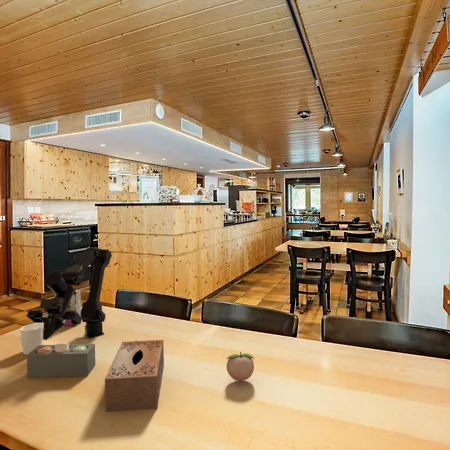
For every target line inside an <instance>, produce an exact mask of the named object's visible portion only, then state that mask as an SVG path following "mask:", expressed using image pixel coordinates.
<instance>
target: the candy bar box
mask: <svg viewBox="0 0 450 450" xmlns="http://www.w3.org/2000/svg"><path fill="white" fill-rule="evenodd" d="M75 291H76V293H77V294H76V295H73V296H72V298H71V301H70V303H69V305H70V308H67V310H66V311H76V312H77V313H78V314H79V315H80V316H81V309H82V302H81V301H82V300H81V299H82V297H81V295H82V294H81V293H82V292H81V290H75ZM53 295H54V297H53V298H55V295H56V293H54V292H53ZM71 321H72V320H66V321H65V323H64V324H65V326H73V327H76V326H78V325H77V324H72V322H71Z"/></svg>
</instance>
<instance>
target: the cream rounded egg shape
mask: <svg viewBox="0 0 450 450" xmlns="http://www.w3.org/2000/svg"><path fill="white" fill-rule="evenodd" d="M69 344H70V343H69V342H66V341H65V342H59V343H56V344H54V345H55V352H67V351H68V350H69Z"/></svg>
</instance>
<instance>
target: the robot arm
mask: <svg viewBox="0 0 450 450" xmlns="http://www.w3.org/2000/svg"><path fill="white" fill-rule="evenodd" d="M112 255H113V254H112V252H111V251H110V249H108V248H107V249H105V248H104V249H103V248H102V249H101V248H99V247H89V246H88V247H87V248H85V252H84V253H83V254H82V255H81V256H80V258H79V259H78V260H77V261H76V263H75V264H74V265H72V266H69V267H68V268H66V269H64V270H63V271H61V270H58V269H57V270H54V272H53V273H50V274H49V275H47V276H46V277H45V279H44V284H45V285H46V286H47V287H48V288H49V289H50V290H51V292H52V293H53V294H54V293H56V295H55V298H54V297H51V298H48V299H47V298H41V299H40V303H39V309H29V310H28V311H27V314H26V315H25V317H26V318H28V319H29V320H30V321H31V322H33V323H34V324H42V325H43V338H42V340H44V341H47V340H49V338H51V336H53V335H54V334H55V333H56V332H57V331H58V330H59V329H61V328H62V327H65V326H66V325H65V324H64V323H65V321H66V320H72V321H71V322H72V324H77V326H79V325H81V323H85V325H84V335H85V336H87V337H88V338H89V339H92V338H96V337H99V336H104V335H105V332H104V331H103V323H104V322H105V320H106V314H105V312H104V311H103V304H102V302H101V301H100V300H101V299H100V298H101V294H102V287H103V281H104V276H105V270H106V268H107V267H108V265H110V261H111V259H112ZM91 264H92V266H93V271H92V273H91V275H92V276H91V281H90V286H89V291H88V297H87V299H86V301H83V302H82V303H81V316H80V315H79V314H78V313H77V312H76V311H66V310H67V308H70V305H69V303H70V301H71V298H72V296H73V295H76V294H77V293H76V291H77V290H76V288H75V287H73V286H80V285H81V284H82V283H83V281H84V279H85V272H86V270H87V269H88V268H89V267H90V266H91ZM41 309H43V310H44V312H43V310H41Z"/></svg>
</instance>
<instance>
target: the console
mask: <svg viewBox="0 0 450 450" xmlns="http://www.w3.org/2000/svg"><path fill="white" fill-rule="evenodd" d="M55 345H56V344H42V345H38V346H37V347H36V348H35V349H33V350H32V351H31V352H30V353H29V354H27V355H26V366H27V367H26V368H27V379H37V378H66V377H67V378H69V377H73V378H74V377H88V376H89V375H90V374H91V373H92V371H93V369H94V368H95V366H96V343H72V344H71V343H69V350H68V351H67V352H55ZM77 346H86V350H85V351H84V352H73V348H75V347H77ZM42 347H51V348H52V350H51V351H50V352H49V353H37V350H38V349H40V348H42Z"/></svg>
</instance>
